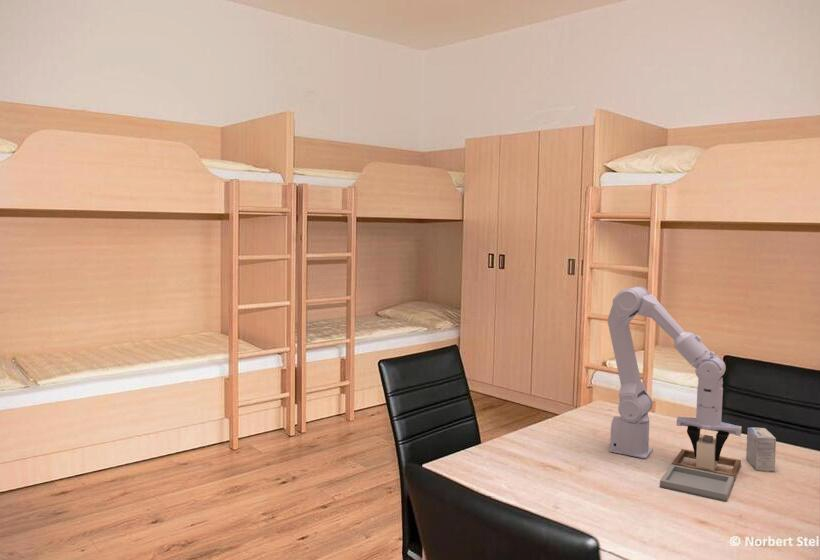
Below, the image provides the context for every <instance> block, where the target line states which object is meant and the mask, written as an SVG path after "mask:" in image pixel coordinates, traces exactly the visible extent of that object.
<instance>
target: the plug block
mask: <svg viewBox="0 0 820 560" xmlns="http://www.w3.org/2000/svg"><path fill="white" fill-rule="evenodd" d="M715 454H716V437H714V436H713V435H707V434H704V435H700V438H699V440H698V441H697V452H696V458H695V466H696V467H701V468H706V469H711V470H716V469H717V466H718V463H717V461H715Z"/></svg>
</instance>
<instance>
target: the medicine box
mask: <svg viewBox="0 0 820 560" xmlns="http://www.w3.org/2000/svg"><path fill="white" fill-rule="evenodd" d="M746 432H747V433H746V452H745V453H746V454H745V455H746V457H745V458H746V460H747V461H748V462H749V463H750V465H751V466H752V467H753V468H754V469H755V470H756V471H758V472H759V471H761V472H773V471H774V472H775V471H776V452H777V448H776V447H777V438H776V437H775V436H774V435H773V434H772V433H771V432H770V431H768V429H767V428H765V427H747V431H746Z"/></svg>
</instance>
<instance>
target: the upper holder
mask: <svg viewBox="0 0 820 560" xmlns="http://www.w3.org/2000/svg"><path fill="white" fill-rule="evenodd" d="M685 457H686V458H691V459H696V457H695V454H694V450H691V449H683V448H681V450H680V451H679V452H678V453H677V455H676V457H675V458H674V459H673V461H672V462H671V464H673V465H678V466H683V467H688V468H693V469H698V470H703V471H708V472H713V473H718V474H723V475H728V476H733V477H734V483H735V482H736V479H737V476H738V474H739V472H740V469H741V466H742V460H741V459H738V458H734V457H733V458H732V457H726V456H722V455H720V457H719V461H717V464H723V465H728V466H733V467H732V469H731V472H725V471H721V470H716V469H715V470H711V469H706V468H701V467H696V465H695V466H694V465H689V464H687V463H686V464H684V463H682V462H683V460H684V459H685Z"/></svg>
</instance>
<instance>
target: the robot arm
mask: <svg viewBox="0 0 820 560" xmlns="http://www.w3.org/2000/svg"><path fill="white" fill-rule="evenodd" d="M637 315H638V316H640V317H641V316H642V317H646V318H651V319H652V320H653V321H654V322H655V323H656V324H657V325H658V326H659V327H660V328H661V329H662V330H663V331H664V332H665V333H666V334H668V335H669V337H670V338H671V339H672V340H673V341H674V344H673V345H674V349H675V350H676V351H677V352H678V353H679V354H680V355H681V356H682V358H684V359H685V361H687V362H688V364H689V365H691V367H692V368H694V372H695V375H696V377H697V380H698V381H697V382H698V383H697V389H696V394H697V395H696V410H695V411H696V412H695V413H696V414H695V417H687V416H679V415H678V416H677V417H676V426H677V427H687V429H686V433H687V435H688V437H689V440H690V442H691V445H692V449H693V451H694V454H695V457H696V452H697V441H698V440H699V438H700V437H701V430H707V431H712V432H717V433H716V434H715V438H716V454H715V461H719V457H720V456H721V452H722V450H723V447H724V445H725V443H726V441H727V439H728V437H729V436H730V434H731V435H735V436H738V437H741V435H742V428H743V427H742V426H741V425H735V424H732V423H727V422H724V421H722V417H723V415H722V414H723V395H724V388H723V384H724V381H723V379H724V377H723V376H724V374H725V372H726V370H727V368H726V367H727V366H726V363H725V361H724V360H723V358H722V357H721V356H720V355H716V352H714V351H713V350H710V349H709V348H708V347H707V346H706V345H705V344H704V342H702V341H701V340H702V337H701V336H700V335H699V334H696V335H695V333H694V332H689V331H684V329H683V328H682V326H681V325H679V324H678V322H677V321H676V320H675V319H674V317H672V315H671V314H670V313H669V312H668V311H667V310H666V308H665V307H664V306H663V305H662V304H661V303H660V301H659V300H658V299H657V298H656V297H655V295H653V294H652V293H650V292H649V290H648V289H647V288H645V287H644V286H639V285H637V286H633V287H630V288H624V289H621V290H620V291H619V292H618V293H617V294H616V295H615V296H614V297H613V299H612V305H611V309H610V310H609V314H608V316H607V325H608V329H609V335H610V339H611V340H610V341H611V345H612V349H613V354H614V359H615V362H616V363H615V364H616V367H617V368H616V369H617V373H618V379H619V382H620V388H619V392H618V398H619V403H618V406H617V407H618V408H617V410H618V413H619V415H614V416H613V418H612V420H611V424H610V438H609V439H610V441H609V442H610V443H609V445H610V446H609V452H610V453H616V454H621V455H624V456H632V457H635V458H640V459H647V458H648V456H649V455H650V454H651V453H652V452H653V450H654V448H653V447H649V444H650V443H649V442H650V417H649V413H650V411H651V410H652V409H653V408H652V407H653V400H652V398H651V395H649V393H648V392H647V389H646V386H645V385H644V383H643V381H642V380H641V379H642V378H641V375H640V370H639V365H638V360H637V357H636V352H635V351H636V350H635V346H634V341H633V337H632V331H631V328H630V323H631V322H632V321H633V319H634V318H635V317H636V316H637Z"/></svg>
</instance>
